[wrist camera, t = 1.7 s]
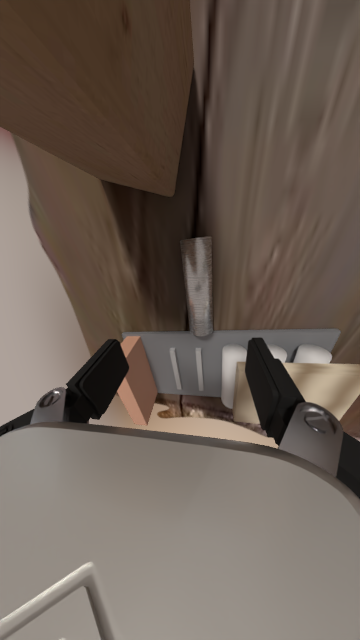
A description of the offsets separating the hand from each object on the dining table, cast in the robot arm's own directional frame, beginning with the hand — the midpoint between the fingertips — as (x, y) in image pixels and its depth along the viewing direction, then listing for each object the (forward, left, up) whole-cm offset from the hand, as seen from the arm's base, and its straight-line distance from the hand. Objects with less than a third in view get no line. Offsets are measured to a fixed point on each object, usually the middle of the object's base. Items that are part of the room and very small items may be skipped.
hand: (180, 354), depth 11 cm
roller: (0, 0, -16) cm, 16 cm away
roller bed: (-3, +18, -15) cm, 24 cm away
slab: (-14, +18, -10) cm, 25 cm away
